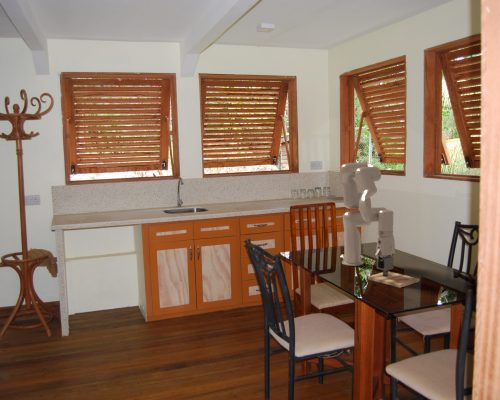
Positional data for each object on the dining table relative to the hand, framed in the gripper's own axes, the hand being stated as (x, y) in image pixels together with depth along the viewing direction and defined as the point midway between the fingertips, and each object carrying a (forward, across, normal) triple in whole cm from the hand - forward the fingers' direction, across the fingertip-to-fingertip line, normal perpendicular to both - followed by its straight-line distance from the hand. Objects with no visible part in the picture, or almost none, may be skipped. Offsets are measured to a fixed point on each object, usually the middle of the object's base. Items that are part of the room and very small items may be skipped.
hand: (384, 266), depth 256 cm
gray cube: (+1, 0, 0) cm, 1 cm away
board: (+6, 0, -6) cm, 8 cm away
